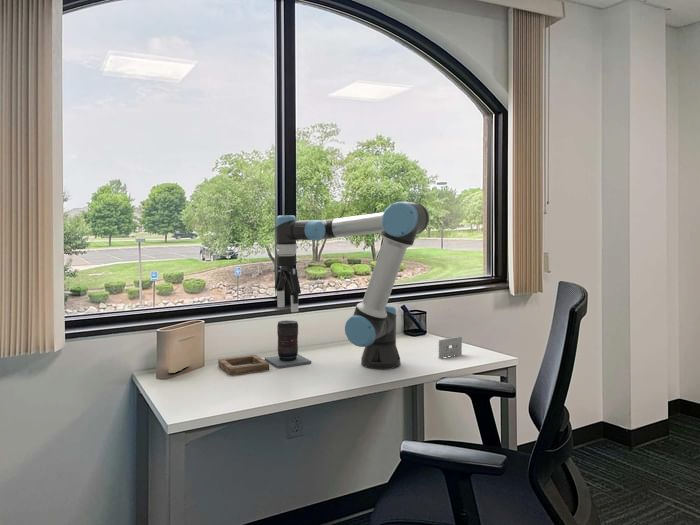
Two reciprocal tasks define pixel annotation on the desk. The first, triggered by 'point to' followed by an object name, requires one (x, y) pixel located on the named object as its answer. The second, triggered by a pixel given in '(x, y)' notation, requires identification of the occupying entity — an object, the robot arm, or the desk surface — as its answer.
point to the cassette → (446, 351)
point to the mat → (281, 364)
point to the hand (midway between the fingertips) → (287, 309)
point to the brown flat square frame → (256, 367)
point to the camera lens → (287, 340)
